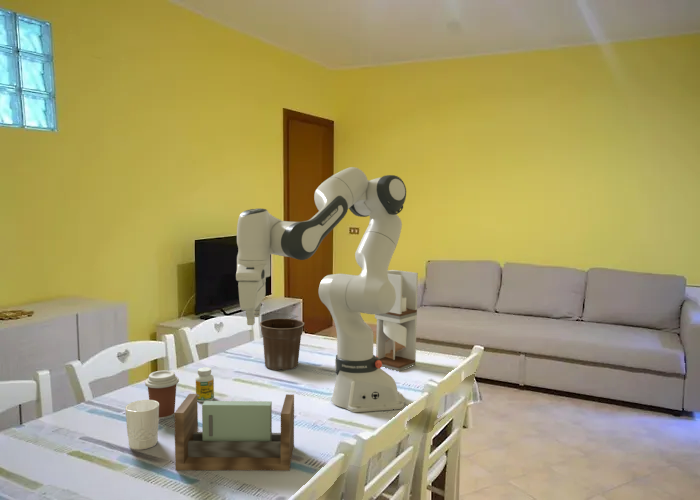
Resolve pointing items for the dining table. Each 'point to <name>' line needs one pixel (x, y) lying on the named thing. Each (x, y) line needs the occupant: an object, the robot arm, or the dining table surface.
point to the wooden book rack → (231, 444)
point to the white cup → (142, 423)
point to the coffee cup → (163, 391)
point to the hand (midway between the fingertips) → (253, 320)
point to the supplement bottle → (204, 385)
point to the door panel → (237, 420)
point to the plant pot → (281, 342)
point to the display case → (399, 323)
